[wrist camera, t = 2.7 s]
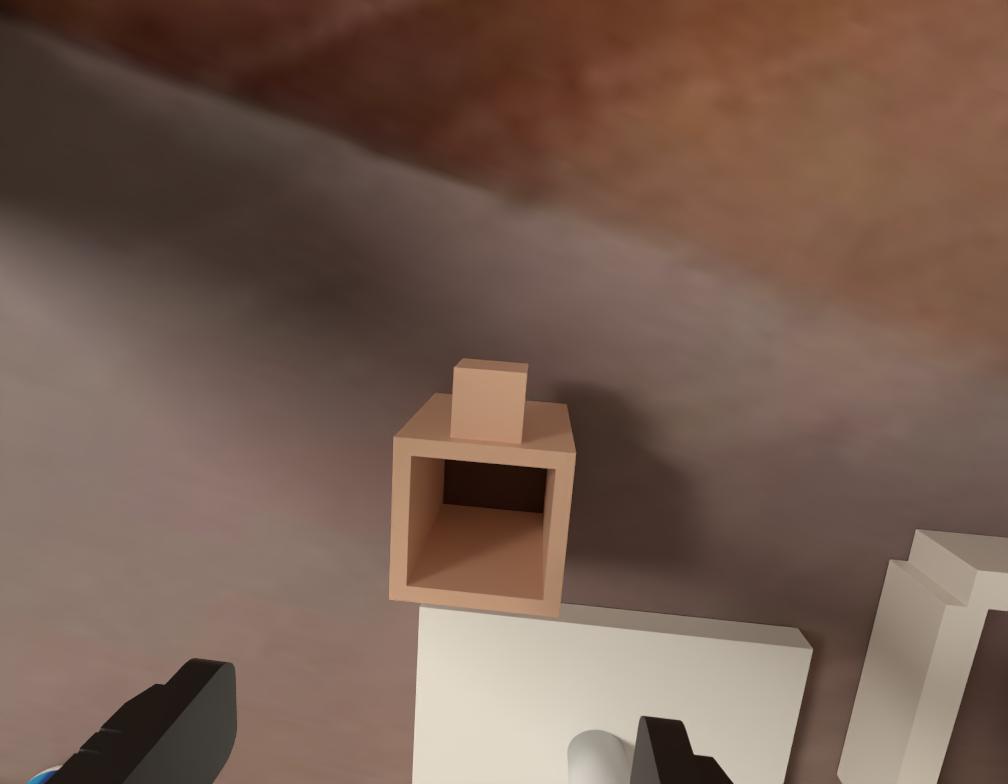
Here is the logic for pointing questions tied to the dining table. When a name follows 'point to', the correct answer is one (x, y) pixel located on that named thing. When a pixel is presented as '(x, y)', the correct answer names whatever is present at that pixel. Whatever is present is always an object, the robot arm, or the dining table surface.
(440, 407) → the collar
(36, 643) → the dining table surface
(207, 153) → the dining table surface
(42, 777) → the beverage bottle
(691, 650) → the base
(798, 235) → the dining table surface
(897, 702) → the vegetable dish rim
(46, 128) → the dining table surface
